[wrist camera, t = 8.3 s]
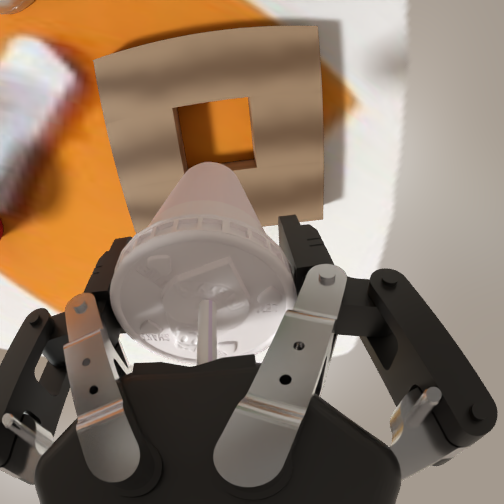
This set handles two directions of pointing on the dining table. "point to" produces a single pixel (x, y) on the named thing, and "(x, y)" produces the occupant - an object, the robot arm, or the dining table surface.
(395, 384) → the robot arm
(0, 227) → the plastic cup
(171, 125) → the socket board
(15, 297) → the dining table surface
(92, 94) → the dining table surface
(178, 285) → the smoothie
